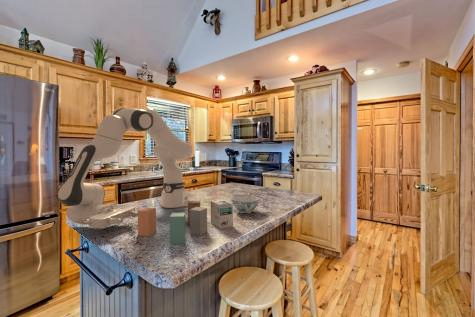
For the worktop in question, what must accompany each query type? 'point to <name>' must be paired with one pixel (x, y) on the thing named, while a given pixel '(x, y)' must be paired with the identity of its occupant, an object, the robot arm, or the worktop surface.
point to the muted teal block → (177, 228)
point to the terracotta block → (146, 221)
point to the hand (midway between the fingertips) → (129, 217)
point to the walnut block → (192, 205)
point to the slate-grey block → (198, 220)
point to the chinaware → (245, 203)
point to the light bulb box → (222, 213)
